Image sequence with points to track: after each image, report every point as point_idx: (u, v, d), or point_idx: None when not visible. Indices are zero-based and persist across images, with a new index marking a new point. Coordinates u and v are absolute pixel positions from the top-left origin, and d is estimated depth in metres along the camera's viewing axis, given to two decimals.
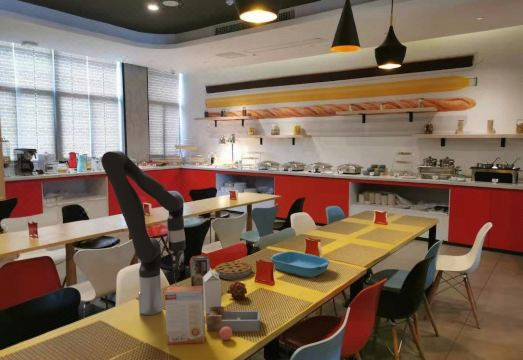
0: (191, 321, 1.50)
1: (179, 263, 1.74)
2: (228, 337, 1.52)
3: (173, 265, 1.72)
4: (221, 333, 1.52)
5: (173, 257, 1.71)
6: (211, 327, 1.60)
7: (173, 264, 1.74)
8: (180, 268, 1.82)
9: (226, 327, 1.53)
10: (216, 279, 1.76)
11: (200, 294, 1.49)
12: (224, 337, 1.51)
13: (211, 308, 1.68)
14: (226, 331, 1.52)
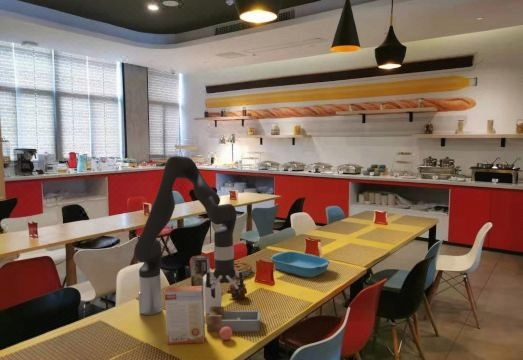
0: (191, 321, 1.50)
1: (235, 280, 1.53)
2: (228, 337, 1.52)
3: None
4: (221, 333, 1.52)
5: (242, 273, 1.50)
6: (211, 327, 1.60)
7: (235, 283, 1.50)
8: (214, 294, 1.52)
9: (226, 327, 1.53)
10: None
11: (200, 294, 1.49)
12: (224, 337, 1.51)
13: (211, 308, 1.68)
14: (226, 331, 1.52)
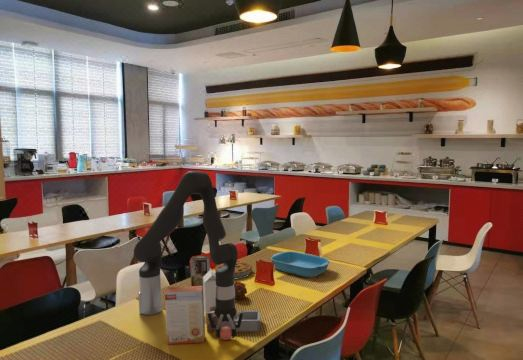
0: (191, 321, 1.50)
1: None
2: (228, 337, 1.52)
3: None
4: (221, 333, 1.52)
5: (242, 314, 1.52)
6: None
7: (233, 323, 1.52)
8: (219, 334, 1.53)
9: (226, 327, 1.53)
10: None
11: (200, 294, 1.49)
12: (224, 337, 1.51)
13: (211, 308, 1.68)
14: (226, 331, 1.52)
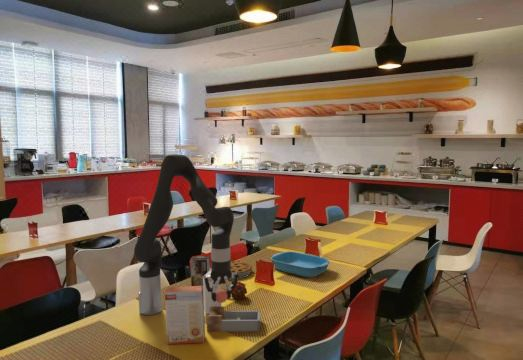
0: (191, 321, 1.50)
1: None
2: (225, 299, 1.54)
3: (233, 284, 1.56)
4: (217, 296, 1.53)
5: None
6: (211, 327, 1.60)
7: (229, 285, 1.55)
8: None
9: (221, 290, 1.55)
10: None
11: (200, 294, 1.49)
12: (221, 299, 1.53)
13: (211, 308, 1.68)
14: (223, 293, 1.54)
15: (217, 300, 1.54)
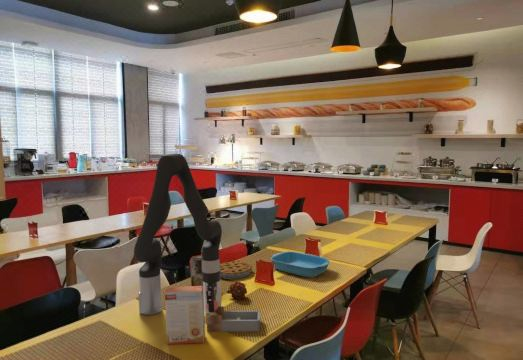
0: (191, 321, 1.50)
1: None
2: None
3: None
4: (215, 305, 1.62)
5: None
6: (211, 327, 1.60)
7: None
8: None
9: None
10: None
11: (200, 294, 1.49)
12: (217, 306, 1.63)
13: None
14: (216, 301, 1.64)
15: (215, 309, 1.62)
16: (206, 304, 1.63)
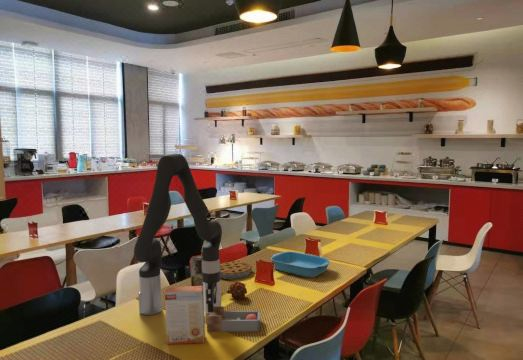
0: (191, 321, 1.50)
1: None
2: None
3: None
4: None
5: None
6: (211, 327, 1.60)
7: None
8: None
9: None
10: None
11: (200, 294, 1.49)
12: None
13: None
14: None
15: None
16: (256, 319, 1.64)
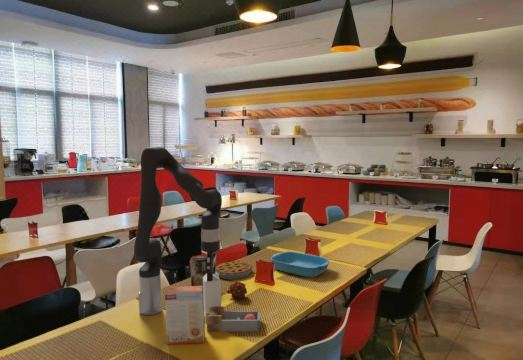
0: (191, 321, 1.50)
1: None
2: None
3: None
4: None
5: None
6: (211, 327, 1.60)
7: None
8: None
9: None
10: (216, 279, 1.76)
11: (200, 294, 1.49)
12: None
13: (211, 308, 1.68)
14: None
15: None
16: (255, 318, 1.64)
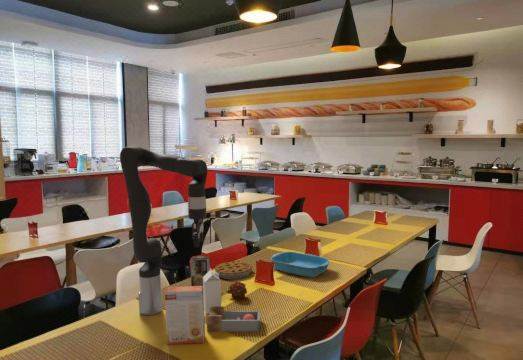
0: (191, 321, 1.50)
1: None
2: None
3: (202, 227, 1.74)
4: None
5: None
6: (211, 327, 1.60)
7: None
8: None
9: None
10: (216, 279, 1.76)
11: (200, 294, 1.49)
12: None
13: (211, 308, 1.68)
14: None
15: None
16: (253, 317, 1.63)
